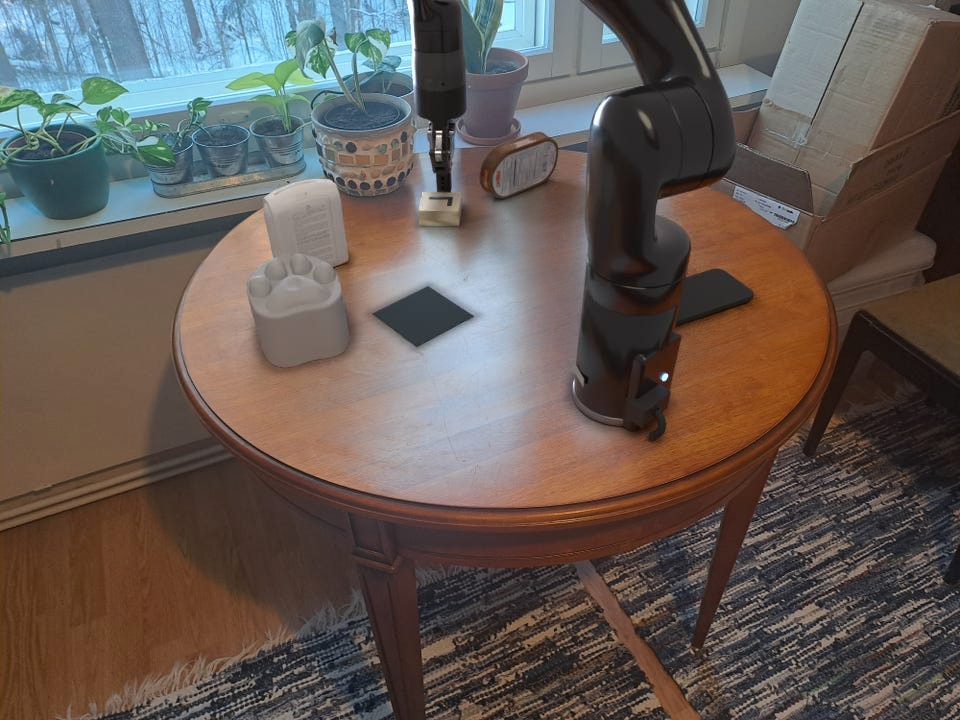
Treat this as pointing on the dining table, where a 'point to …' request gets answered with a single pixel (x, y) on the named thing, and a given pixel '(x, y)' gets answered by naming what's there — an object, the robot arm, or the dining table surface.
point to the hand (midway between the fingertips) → (444, 192)
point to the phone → (710, 294)
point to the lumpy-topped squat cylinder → (298, 310)
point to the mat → (422, 315)
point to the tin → (518, 165)
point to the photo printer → (307, 221)
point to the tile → (440, 209)
